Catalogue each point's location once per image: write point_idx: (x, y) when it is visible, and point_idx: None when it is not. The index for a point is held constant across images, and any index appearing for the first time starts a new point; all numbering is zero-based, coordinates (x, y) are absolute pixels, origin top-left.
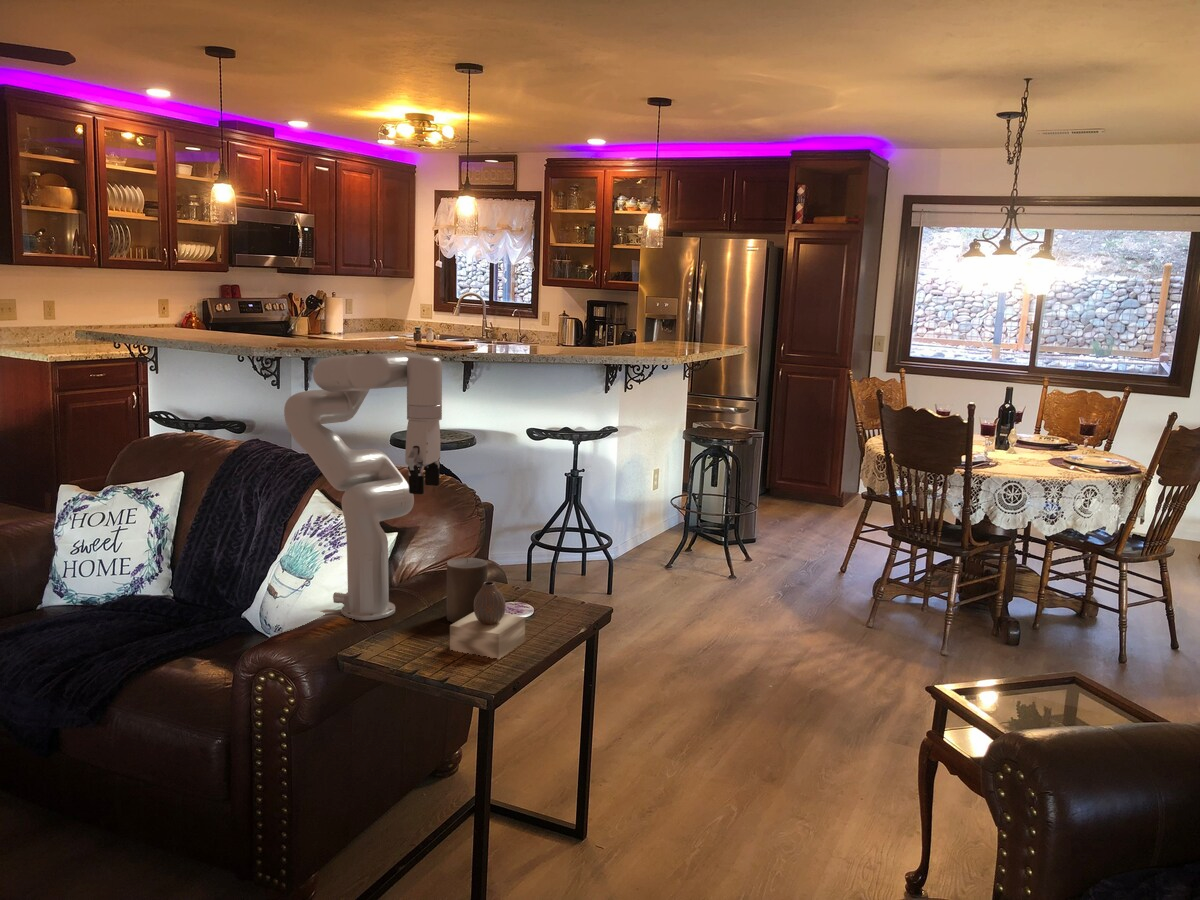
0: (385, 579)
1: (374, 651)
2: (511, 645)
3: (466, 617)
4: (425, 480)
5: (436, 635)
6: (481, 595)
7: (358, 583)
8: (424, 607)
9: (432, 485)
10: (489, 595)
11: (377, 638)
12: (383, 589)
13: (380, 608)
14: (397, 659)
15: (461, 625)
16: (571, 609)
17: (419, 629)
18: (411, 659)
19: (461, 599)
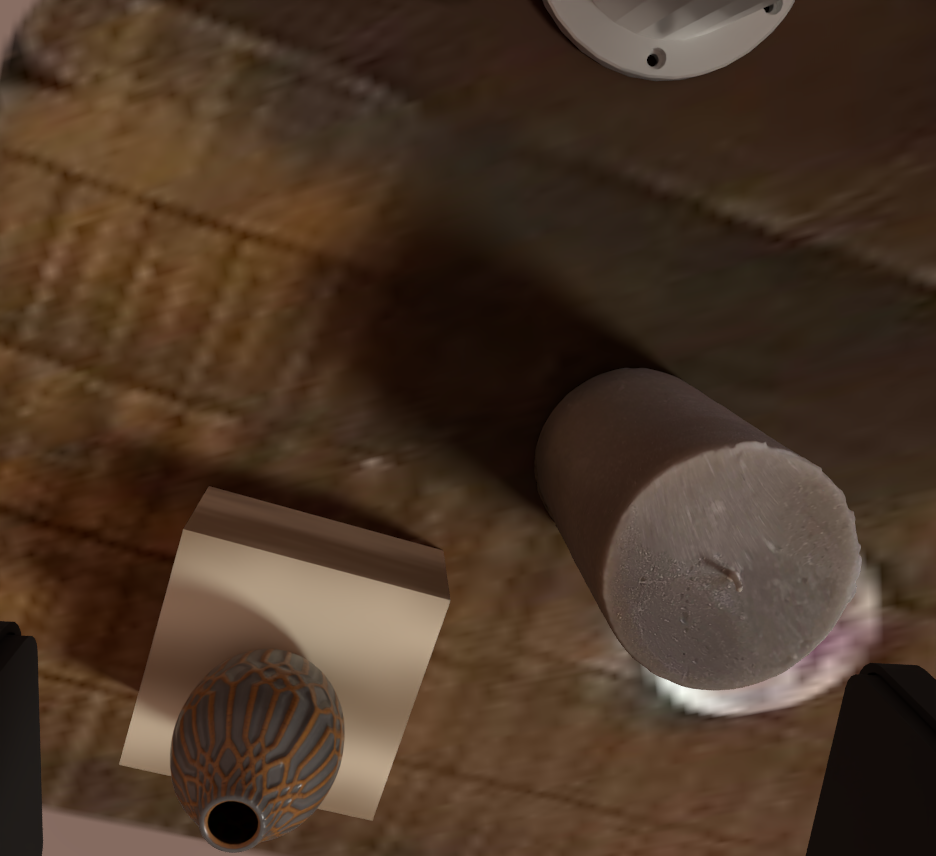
0: (705, 2)
1: (110, 147)
2: None
3: (317, 576)
4: (893, 716)
5: (380, 380)
6: (185, 761)
7: None
8: (773, 214)
9: (830, 780)
10: (184, 804)
11: (287, 105)
12: (664, 5)
13: (612, 12)
14: (39, 289)
15: (195, 582)
16: (783, 845)
17: (448, 279)
18: (56, 352)
19: (559, 498)
